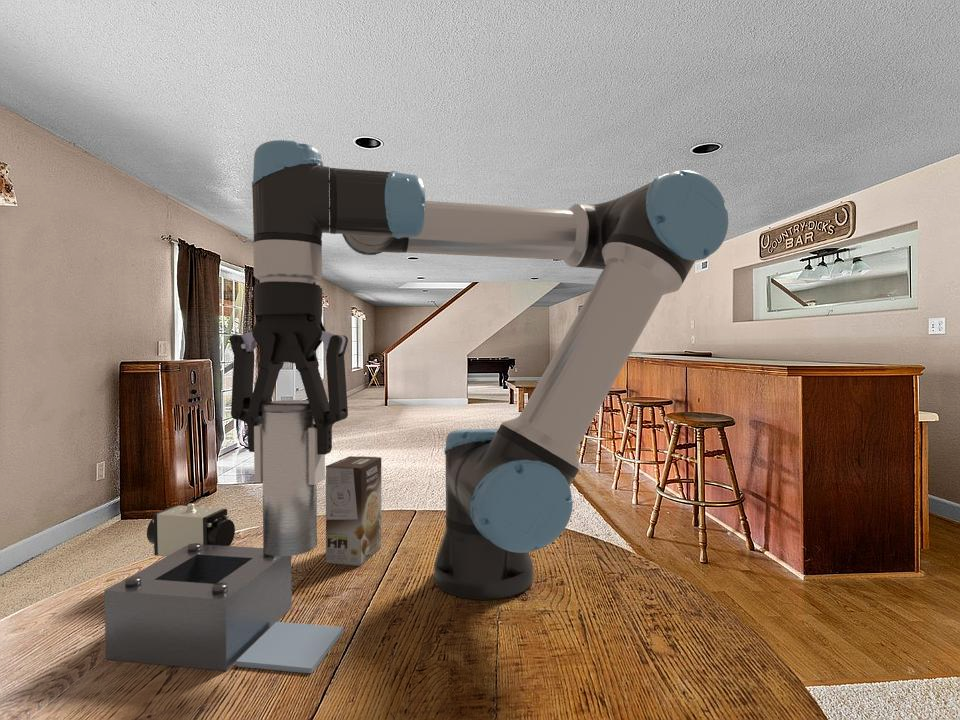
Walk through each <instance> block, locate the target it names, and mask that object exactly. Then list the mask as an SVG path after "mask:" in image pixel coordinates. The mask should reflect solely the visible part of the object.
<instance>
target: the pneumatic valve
mask: <svg viewBox="0 0 960 720" xmlns="http://www.w3.org/2000/svg"><path fill="white" fill-rule="evenodd" d="M229 516H230V515H228V508H219V507H211V506H207V507H206V506H202V505H200V506H195V503H191V502H190V503H187V505H176V504H175V505H173V506H171V507H169V508H166V509H163V510H160V511H159V512H156V513H154V514H153V517H152V519H151V520H150V521H149V524H148V525H147V529H146V538H147V540H148V542H149V543H150V544H152V545H153V546H152V549H154V550H153V551H154V552H153V553H154V556H157V557H167V556H169V555H170V554H172V553H174V552H176V551H178V550H180V549H182V548H183V547H185V546H187V545H189V544H194V543H200V544H205V545H221V546H232V544H233V541H234V538H235V534H236V527H235V526H236V525H235V523H234V521H233V520H232V519H229Z"/></svg>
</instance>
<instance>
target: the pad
mask: <svg viewBox="0 0 960 720" xmlns="http://www.w3.org/2000/svg"><path fill="white" fill-rule="evenodd" d="M344 628H345V626H337V625H335V626H334V625H333V626H332V625H322V624H311V623H298V622H286V621H277V622H276V623H275V624H274V625H273V626H272V627H270V628H269V629H268V630H267V631H266V632H265V633H264V634H263V635H262V636H261V637H260V638H259V639H258V640H257V641H256V642H255V643H254V644H253V645H252V646H251V647H250V648H249V649H248V650H247V651H246V652H245V653H244V654H243V655H242V656H241V657H240V658H239V659H238V660H237V661H236V662H235V667H238V668H250V669H259V670H271V671H278V672H279V671H281V672H291V673H302V674H311V675H312V674H313V673H314V671H315V670H316V669H318V666H319V665H320V663H321V662H322V661H323V660H324V658H325V657H326V656H327V655H328V653H329V652H330V650H331V649H332V648H333V647H334V646H335V644H336V642H338V640H339V639H340V637H341V636H342V635H343V634H344V633H345V632H344V631H345V629H344Z"/></svg>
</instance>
